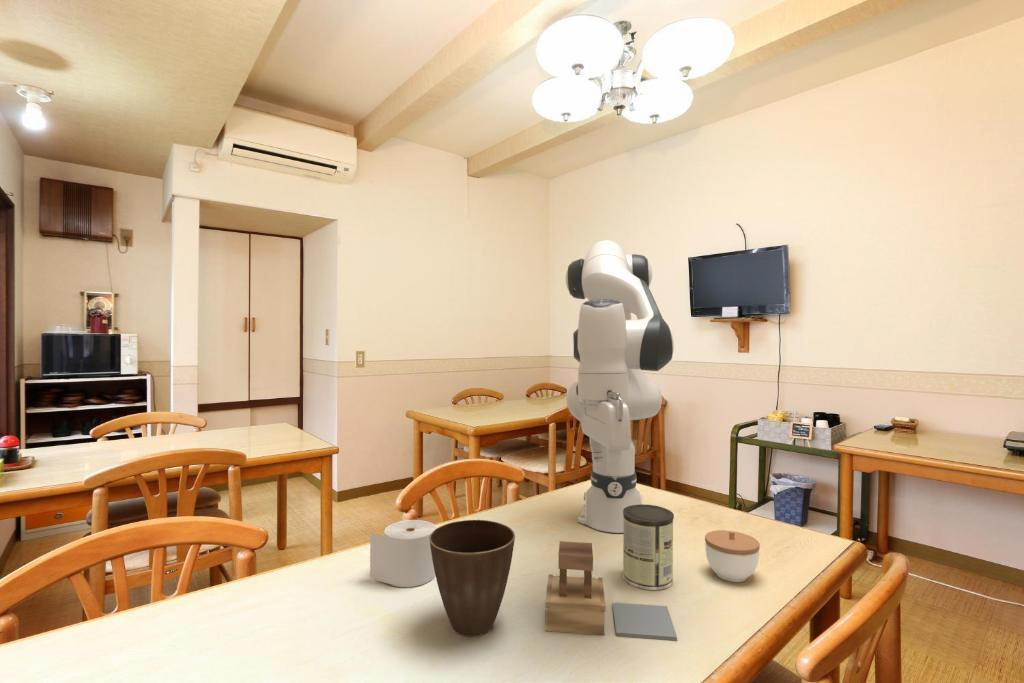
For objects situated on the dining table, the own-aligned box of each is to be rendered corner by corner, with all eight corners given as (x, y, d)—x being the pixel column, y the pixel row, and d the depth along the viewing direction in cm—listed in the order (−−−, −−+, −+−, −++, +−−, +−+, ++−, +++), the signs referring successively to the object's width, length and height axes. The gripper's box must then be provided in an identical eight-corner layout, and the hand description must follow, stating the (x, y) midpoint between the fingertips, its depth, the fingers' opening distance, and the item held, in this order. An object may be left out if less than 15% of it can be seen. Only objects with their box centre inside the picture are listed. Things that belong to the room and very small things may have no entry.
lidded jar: (765, 590, 106) (765, 544, 105) (708, 584, 108) (709, 539, 108) (752, 566, 116) (752, 524, 116) (701, 562, 118) (701, 520, 118)
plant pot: (482, 661, 82) (482, 560, 82) (410, 632, 90) (411, 539, 90) (529, 618, 95) (530, 530, 94) (463, 595, 103) (464, 514, 102)
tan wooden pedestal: (548, 600, 101) (548, 574, 101) (602, 604, 100) (602, 577, 100) (545, 631, 91) (545, 601, 90) (605, 635, 89) (605, 606, 89)
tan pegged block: (559, 580, 98) (559, 541, 98) (591, 582, 98) (592, 542, 98) (558, 596, 92) (558, 554, 92) (592, 599, 92) (593, 556, 92)
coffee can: (628, 564, 117) (628, 501, 117) (676, 573, 113) (677, 508, 112) (617, 584, 108) (617, 516, 107) (669, 595, 103) (669, 524, 103)
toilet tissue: (445, 575, 111) (446, 528, 111) (398, 596, 102) (398, 545, 102) (415, 560, 118) (415, 516, 118) (368, 578, 110) (368, 530, 109)
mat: (612, 605, 99) (612, 602, 99) (666, 609, 98) (666, 606, 98) (616, 636, 89) (616, 632, 89) (677, 640, 88) (677, 637, 88)
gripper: (640, 393, 84) (641, 480, 83) (605, 385, 104) (606, 455, 104) (601, 393, 83) (602, 481, 83) (573, 386, 104) (574, 456, 103)
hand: (604, 467), depth 93 cm, fingers open, 8 cm apart
